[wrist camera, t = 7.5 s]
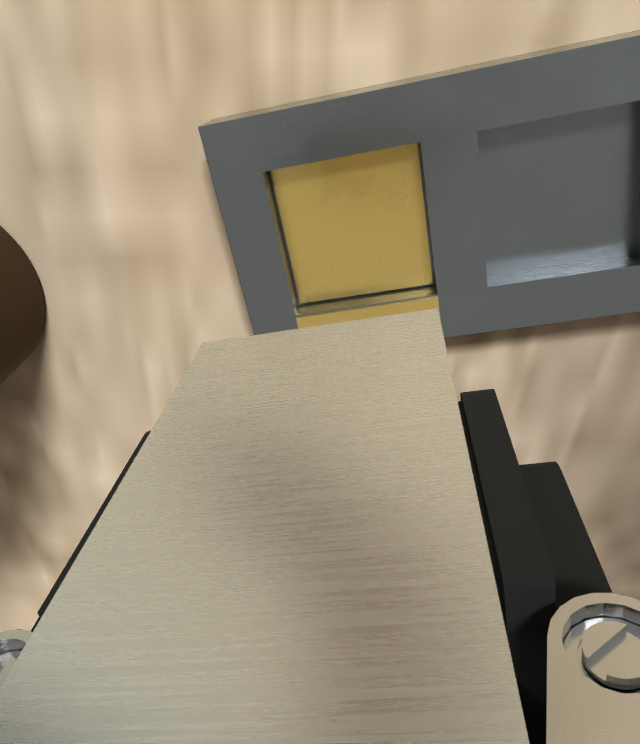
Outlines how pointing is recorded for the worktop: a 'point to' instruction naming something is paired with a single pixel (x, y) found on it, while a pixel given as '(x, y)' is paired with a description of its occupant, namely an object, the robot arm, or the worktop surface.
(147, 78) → the worktop surface
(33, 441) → the worktop surface
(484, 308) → the tray with square compartments
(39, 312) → the olive oil
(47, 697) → the grey block with knob
